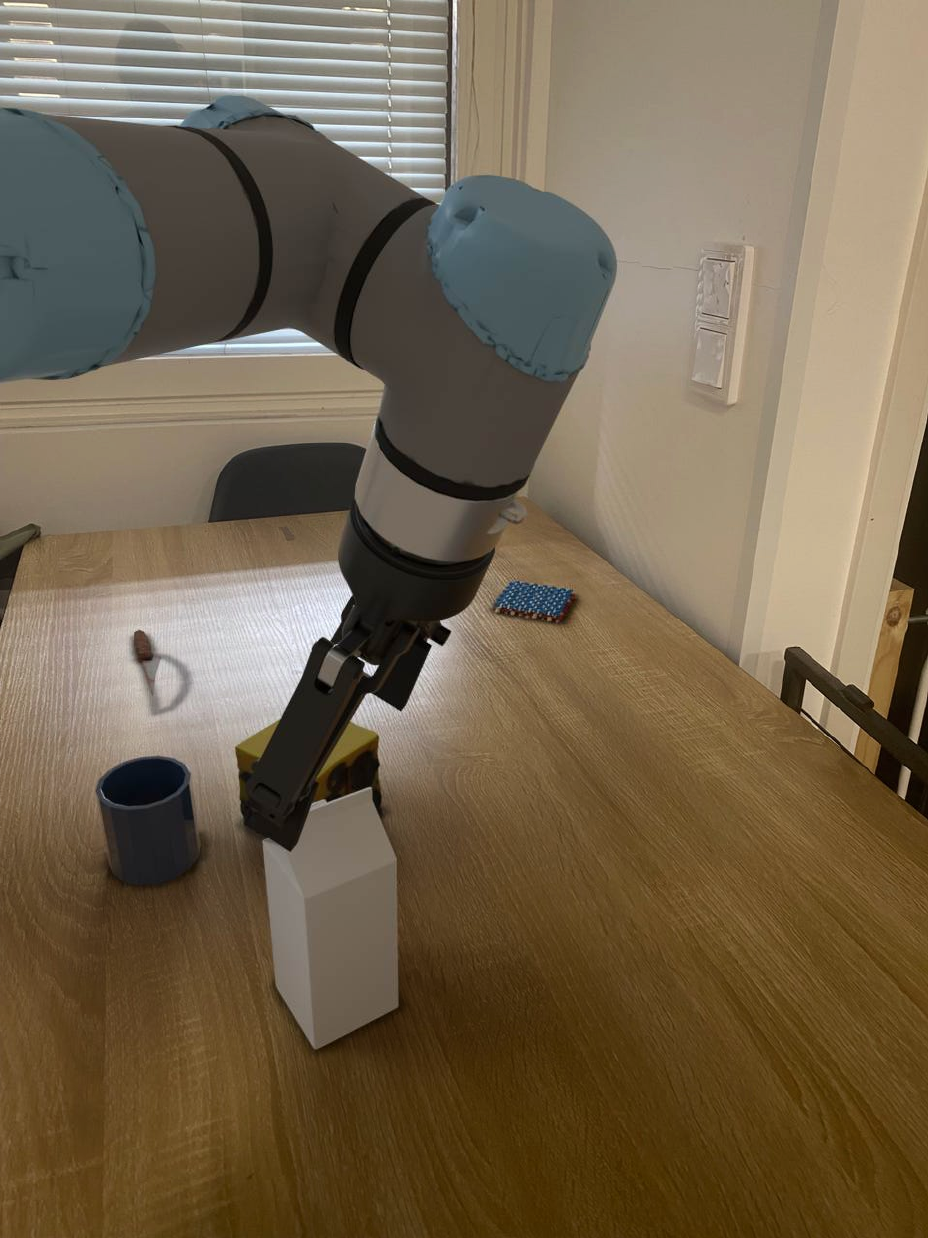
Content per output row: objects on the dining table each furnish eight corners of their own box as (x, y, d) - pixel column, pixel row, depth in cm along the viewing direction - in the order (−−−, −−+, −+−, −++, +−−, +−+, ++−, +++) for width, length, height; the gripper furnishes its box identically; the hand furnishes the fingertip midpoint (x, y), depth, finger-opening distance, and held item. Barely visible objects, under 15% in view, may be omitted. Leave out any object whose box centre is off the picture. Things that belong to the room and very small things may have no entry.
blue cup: (93, 881, 82) (76, 800, 78) (141, 826, 89) (128, 750, 85) (173, 897, 81) (160, 816, 77) (215, 840, 88) (206, 763, 84)
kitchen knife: (195, 705, 109) (151, 708, 107) (195, 716, 109) (151, 720, 107) (169, 626, 126) (131, 628, 123) (169, 636, 126) (131, 638, 124)
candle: (312, 779, 97) (307, 699, 92) (385, 815, 92) (383, 732, 87) (239, 829, 89) (230, 743, 85) (314, 871, 84) (308, 782, 80)
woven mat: (561, 628, 131) (562, 615, 130) (490, 616, 134) (491, 603, 133) (576, 599, 140) (577, 587, 139) (510, 589, 143) (511, 577, 142)
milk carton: (399, 1012, 70) (397, 813, 62) (315, 1056, 66) (301, 851, 58) (355, 953, 75) (348, 762, 67) (275, 990, 72) (257, 794, 63)
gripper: (361, 712, 35) (271, 946, 50) (579, 452, 53) (467, 679, 68) (203, 613, 36) (160, 871, 50) (470, 391, 54) (382, 627, 69)
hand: (335, 761), depth 59 cm, fingers open, 13 cm apart
